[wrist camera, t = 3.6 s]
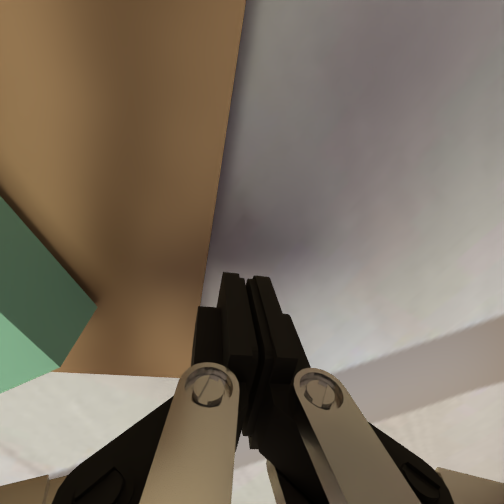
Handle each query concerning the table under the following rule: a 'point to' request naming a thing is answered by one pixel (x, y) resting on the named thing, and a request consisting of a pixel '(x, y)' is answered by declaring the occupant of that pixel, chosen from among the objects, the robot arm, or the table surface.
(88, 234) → the stool seat
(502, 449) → the table surface
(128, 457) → the robot arm
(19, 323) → the folding leg
